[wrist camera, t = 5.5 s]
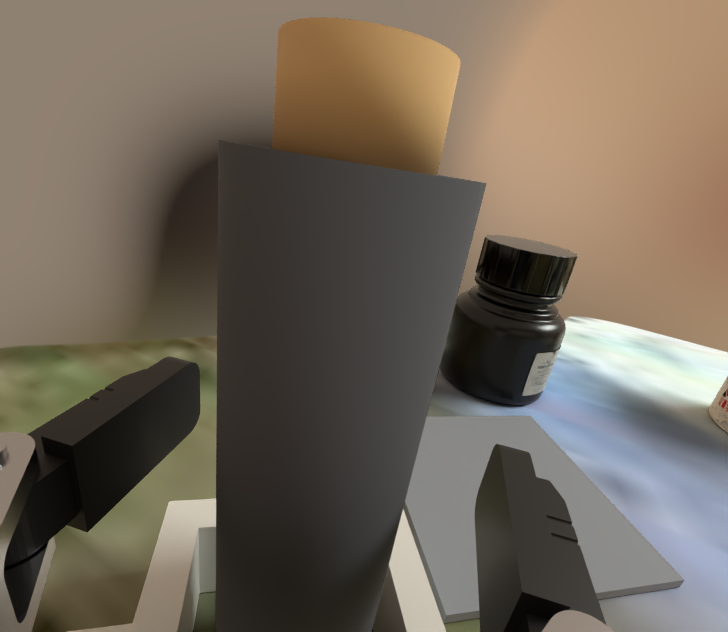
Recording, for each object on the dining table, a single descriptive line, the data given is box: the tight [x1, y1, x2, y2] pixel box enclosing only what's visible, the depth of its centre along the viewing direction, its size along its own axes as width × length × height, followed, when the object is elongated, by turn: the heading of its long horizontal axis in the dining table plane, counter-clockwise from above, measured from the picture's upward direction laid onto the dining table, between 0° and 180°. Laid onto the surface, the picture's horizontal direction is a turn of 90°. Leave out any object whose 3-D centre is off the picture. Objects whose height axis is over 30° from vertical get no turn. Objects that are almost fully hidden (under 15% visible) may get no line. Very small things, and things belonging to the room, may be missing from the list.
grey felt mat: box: [403, 416, 684, 623], centre depth 22 cm, size 12×12×1 cm
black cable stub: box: [215, 18, 486, 632], centre depth 9 cm, size 4×4×18 cm
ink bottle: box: [440, 235, 577, 405], centre depth 32 cm, size 10×9×12 cm
